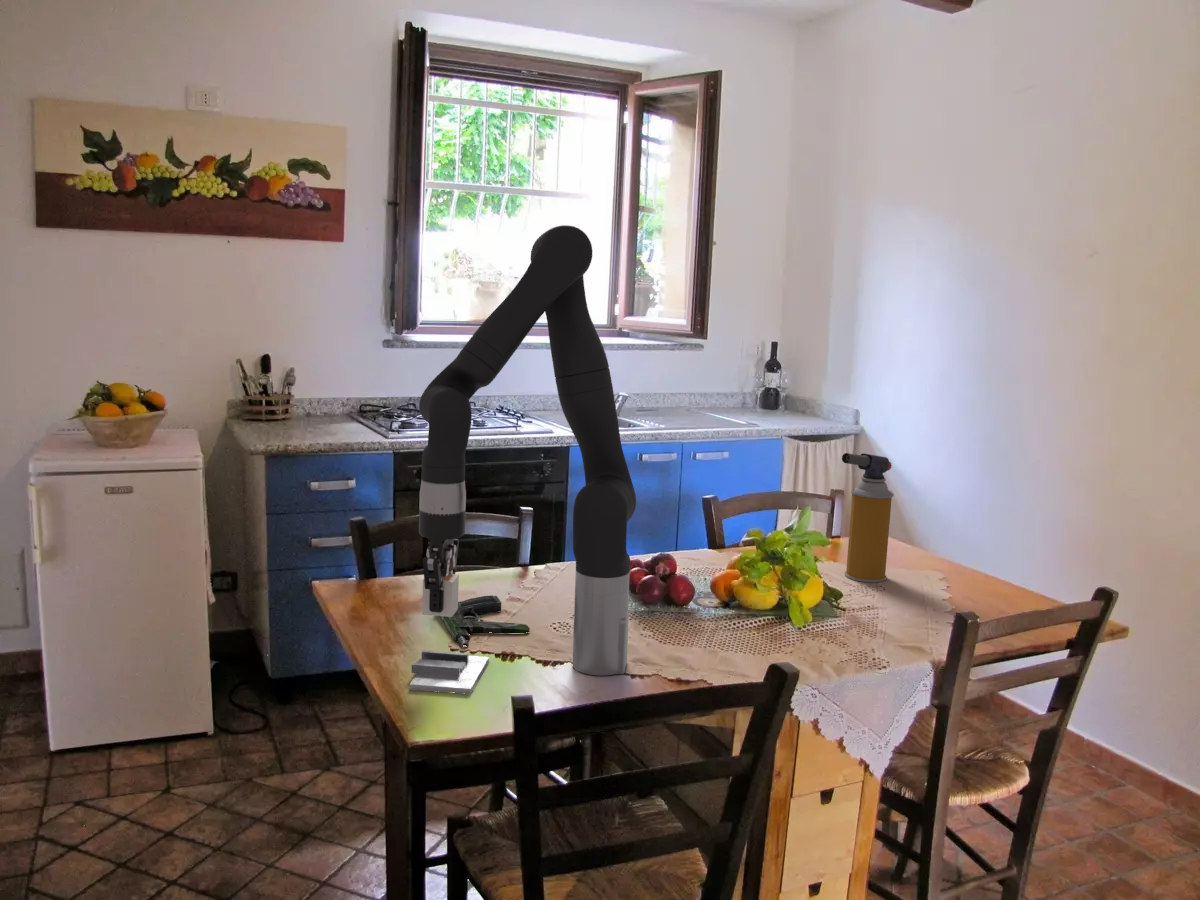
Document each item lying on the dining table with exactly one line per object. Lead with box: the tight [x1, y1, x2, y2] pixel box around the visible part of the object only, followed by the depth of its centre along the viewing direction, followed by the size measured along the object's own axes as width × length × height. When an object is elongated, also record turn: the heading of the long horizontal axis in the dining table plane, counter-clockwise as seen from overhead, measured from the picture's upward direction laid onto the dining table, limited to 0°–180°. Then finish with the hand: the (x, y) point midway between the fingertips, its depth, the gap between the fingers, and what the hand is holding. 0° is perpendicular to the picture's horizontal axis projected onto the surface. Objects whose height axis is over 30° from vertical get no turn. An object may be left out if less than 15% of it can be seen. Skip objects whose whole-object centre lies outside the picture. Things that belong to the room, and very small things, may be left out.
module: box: [421, 574, 460, 617], centre depth 172 cm, size 5×4×6 cm
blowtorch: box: [841, 452, 895, 584], centre depth 235 cm, size 9×16×30 cm, turn 129°
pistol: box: [439, 595, 531, 648], centre depth 198 cm, size 3×22×15 cm
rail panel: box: [409, 649, 490, 695], centre depth 173 cm, size 11×14×2 cm
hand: (440, 606), depth 172 cm, fingers closed on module, 4 cm apart
